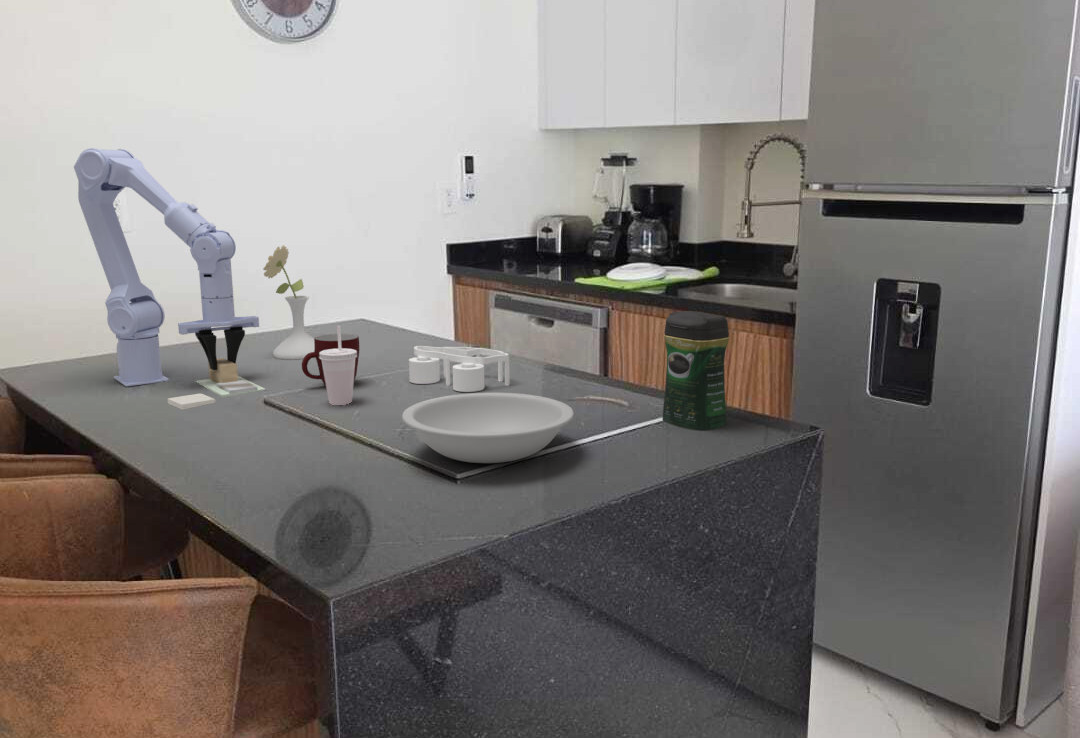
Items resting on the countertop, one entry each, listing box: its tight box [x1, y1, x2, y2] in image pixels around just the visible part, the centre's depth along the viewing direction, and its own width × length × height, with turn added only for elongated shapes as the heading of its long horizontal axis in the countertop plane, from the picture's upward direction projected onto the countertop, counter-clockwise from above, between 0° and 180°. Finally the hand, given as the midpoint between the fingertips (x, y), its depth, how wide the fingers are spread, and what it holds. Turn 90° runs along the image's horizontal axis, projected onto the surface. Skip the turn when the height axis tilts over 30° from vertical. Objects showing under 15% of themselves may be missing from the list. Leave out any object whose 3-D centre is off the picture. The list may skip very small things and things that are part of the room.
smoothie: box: [319, 325, 357, 406], centre depth 160 cm, size 6×6×14 cm
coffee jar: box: [662, 310, 730, 432], centre depth 144 cm, size 10×8×19 cm
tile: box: [167, 392, 216, 411], centre depth 164 cm, size 1×6×6 cm
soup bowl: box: [401, 392, 575, 464], centre depth 132 cm, size 24×24×7 cm
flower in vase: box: [263, 244, 315, 361], centre depth 199 cm, size 13×11×25 cm
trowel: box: [207, 357, 257, 394], centre depth 175 cm, size 15×5×4 cm, turn 37°
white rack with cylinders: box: [408, 345, 510, 393], centre depth 174 cm, size 20×11×7 cm, turn 52°
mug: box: [301, 333, 360, 387], centre depth 173 cm, size 11×8×10 cm
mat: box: [195, 375, 266, 398], centre depth 176 cm, size 15×8×1 cm, turn 37°
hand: (222, 368), depth 178 cm, fingers closed on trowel, 3 cm apart
